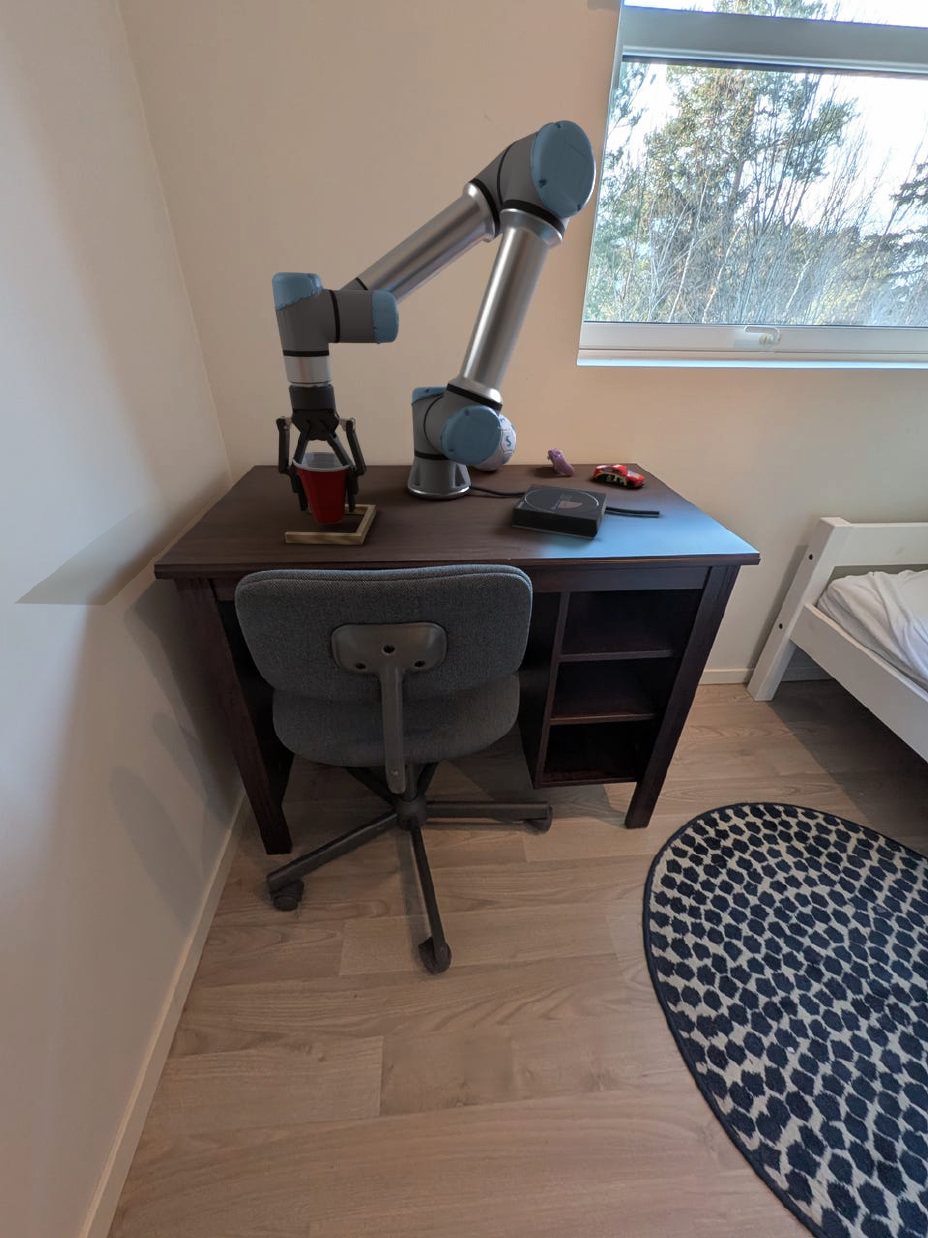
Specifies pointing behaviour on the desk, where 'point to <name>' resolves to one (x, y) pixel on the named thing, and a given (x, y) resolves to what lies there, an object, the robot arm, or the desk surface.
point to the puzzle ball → (501, 447)
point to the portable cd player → (560, 511)
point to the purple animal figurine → (560, 462)
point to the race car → (619, 475)
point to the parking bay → (337, 537)
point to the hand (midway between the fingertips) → (328, 509)
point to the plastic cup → (324, 485)
